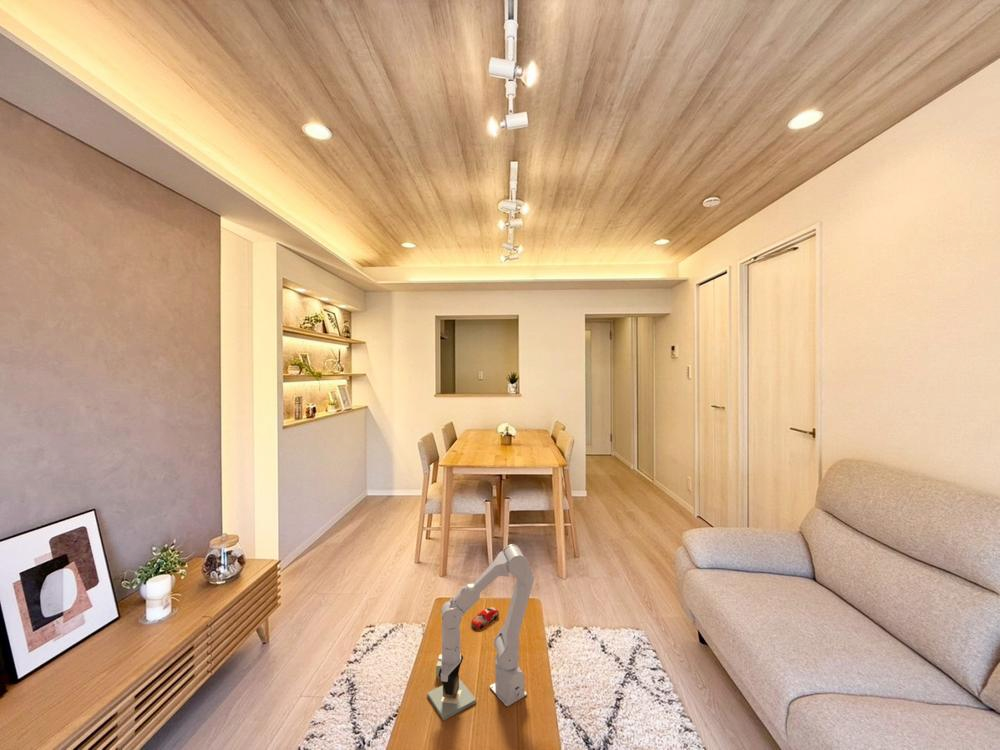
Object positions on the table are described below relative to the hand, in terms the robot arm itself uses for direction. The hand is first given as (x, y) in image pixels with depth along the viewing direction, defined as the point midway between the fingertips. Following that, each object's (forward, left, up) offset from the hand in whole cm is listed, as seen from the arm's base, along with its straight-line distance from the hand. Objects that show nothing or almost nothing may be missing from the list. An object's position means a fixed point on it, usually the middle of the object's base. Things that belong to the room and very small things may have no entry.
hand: (451, 687), depth 121 cm
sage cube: (+11, -3, -4) cm, 12 cm away
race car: (+27, -30, -4) cm, 41 cm away
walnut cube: (0, 0, -1) cm, 1 cm away
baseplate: (0, 0, -3) cm, 3 cm away
